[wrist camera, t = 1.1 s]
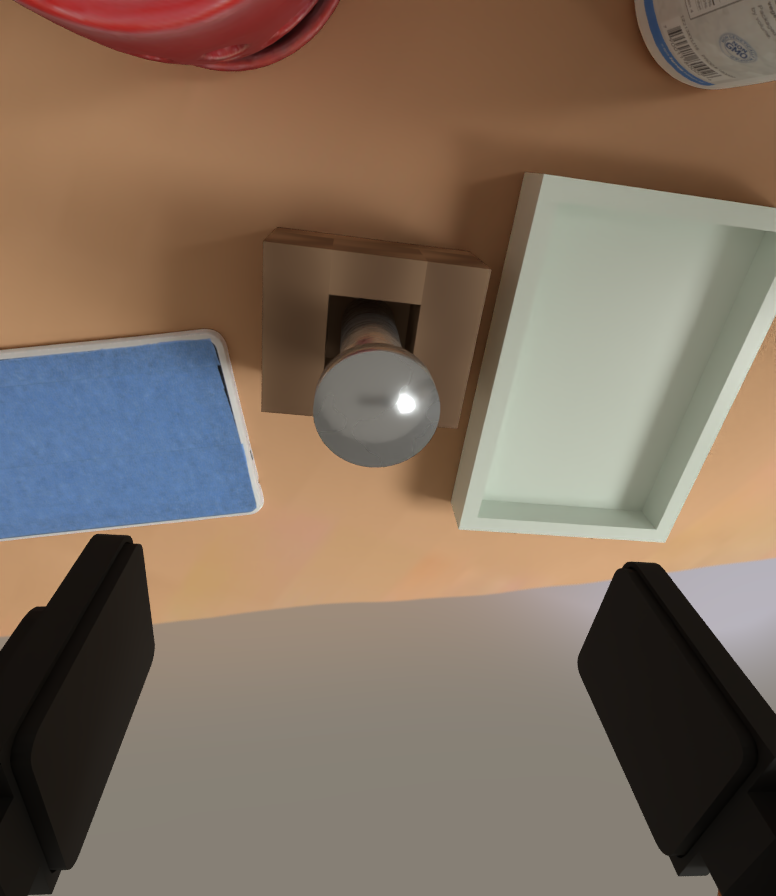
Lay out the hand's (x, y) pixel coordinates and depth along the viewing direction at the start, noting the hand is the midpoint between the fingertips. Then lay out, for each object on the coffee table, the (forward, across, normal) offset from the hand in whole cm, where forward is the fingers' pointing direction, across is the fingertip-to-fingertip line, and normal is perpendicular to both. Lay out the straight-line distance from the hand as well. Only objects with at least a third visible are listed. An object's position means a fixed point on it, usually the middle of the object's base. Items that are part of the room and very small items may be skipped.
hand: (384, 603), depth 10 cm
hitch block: (+21, 0, 0) cm, 21 cm away
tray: (+21, -14, +2) cm, 26 cm away
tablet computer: (+22, +16, +10) cm, 29 cm away
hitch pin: (+20, 0, 0) cm, 20 cm away
